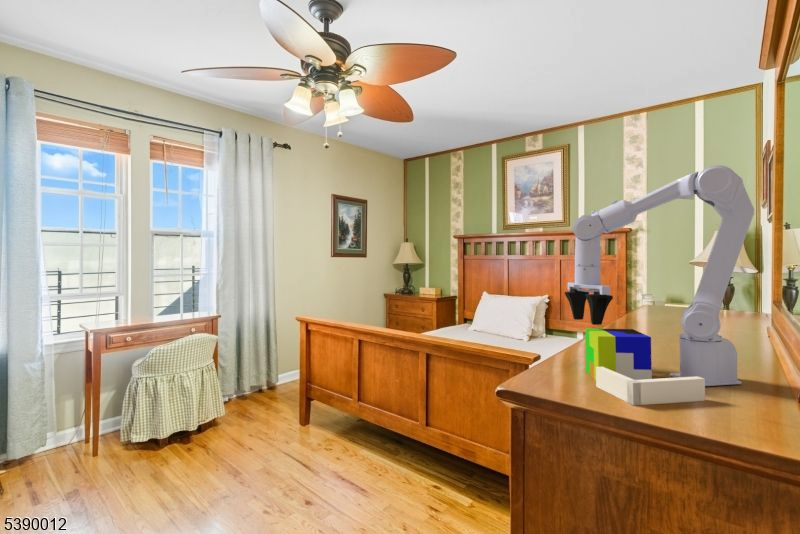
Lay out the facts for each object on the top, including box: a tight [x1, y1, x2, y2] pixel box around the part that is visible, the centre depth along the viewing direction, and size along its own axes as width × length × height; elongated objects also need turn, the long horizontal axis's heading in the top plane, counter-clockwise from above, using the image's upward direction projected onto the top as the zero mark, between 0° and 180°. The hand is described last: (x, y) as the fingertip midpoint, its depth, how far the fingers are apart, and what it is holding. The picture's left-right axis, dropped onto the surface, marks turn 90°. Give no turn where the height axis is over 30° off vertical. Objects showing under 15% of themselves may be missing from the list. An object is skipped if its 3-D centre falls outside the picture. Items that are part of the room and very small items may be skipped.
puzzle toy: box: [585, 328, 653, 381], centre depth 86 cm, size 10×10×10 cm
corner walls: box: [595, 367, 706, 406], centre depth 76 cm, size 14×11×4 cm
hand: (587, 321), depth 96 cm, fingers open, 7 cm apart
